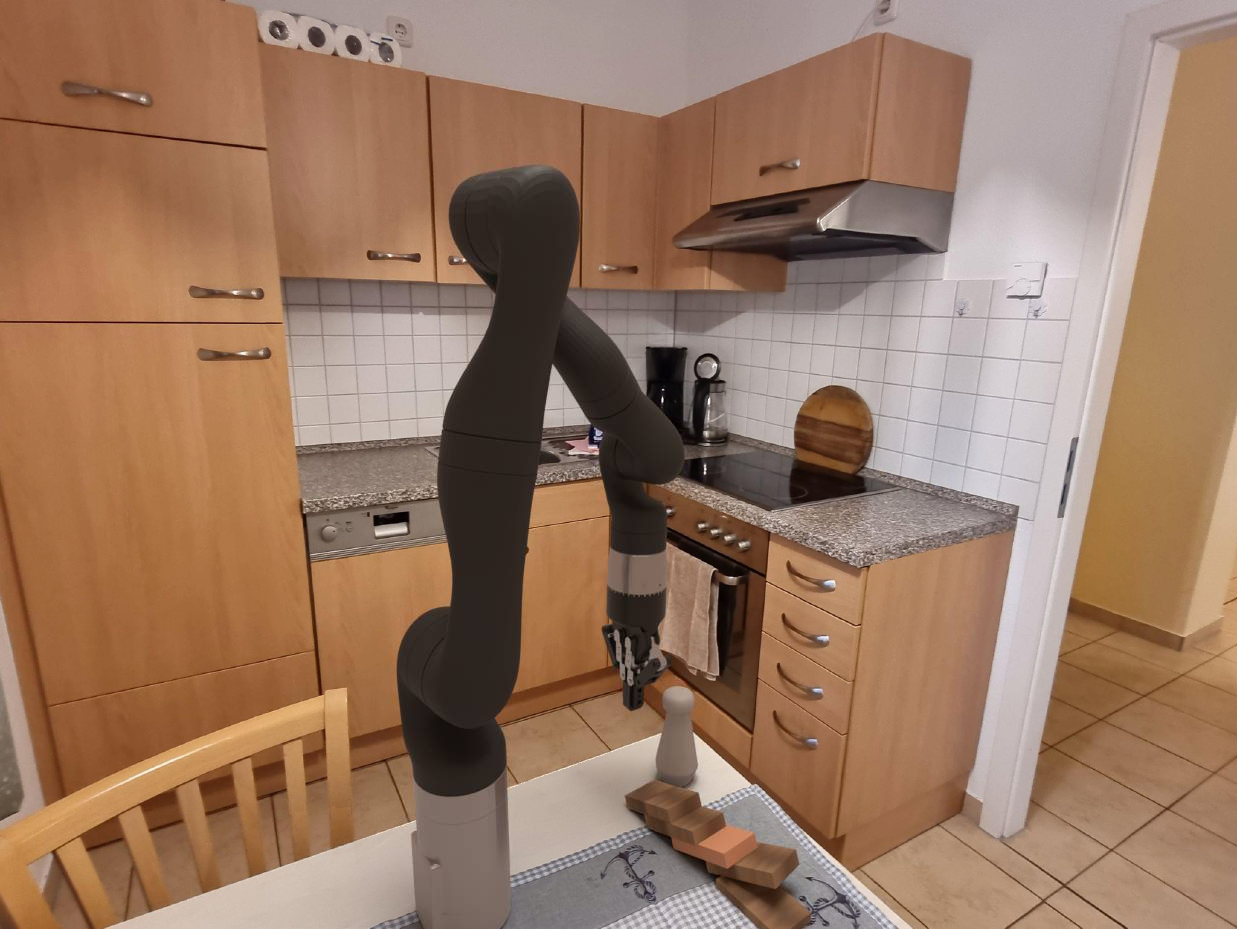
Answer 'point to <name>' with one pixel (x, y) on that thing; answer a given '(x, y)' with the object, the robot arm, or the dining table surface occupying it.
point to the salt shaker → (677, 738)
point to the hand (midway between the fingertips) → (632, 706)
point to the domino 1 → (663, 801)
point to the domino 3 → (721, 846)
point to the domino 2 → (690, 825)
